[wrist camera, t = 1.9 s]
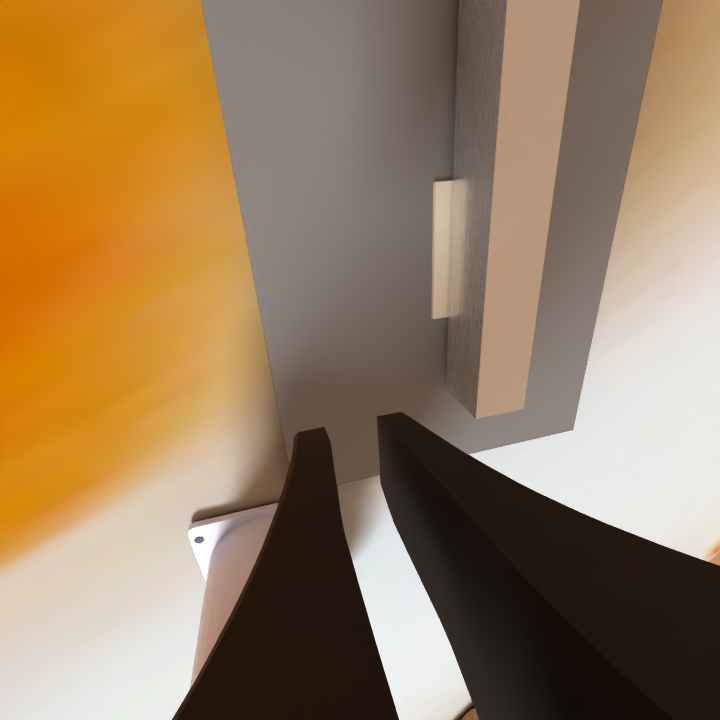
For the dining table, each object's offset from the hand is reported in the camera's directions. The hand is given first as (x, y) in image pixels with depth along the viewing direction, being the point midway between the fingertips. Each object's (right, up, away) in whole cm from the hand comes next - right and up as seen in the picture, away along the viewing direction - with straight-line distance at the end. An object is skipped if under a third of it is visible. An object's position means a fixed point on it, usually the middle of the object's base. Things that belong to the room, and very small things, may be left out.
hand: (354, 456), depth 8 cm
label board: (+4, +8, +9) cm, 12 cm away
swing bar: (+5, +9, +7) cm, 13 cm away
